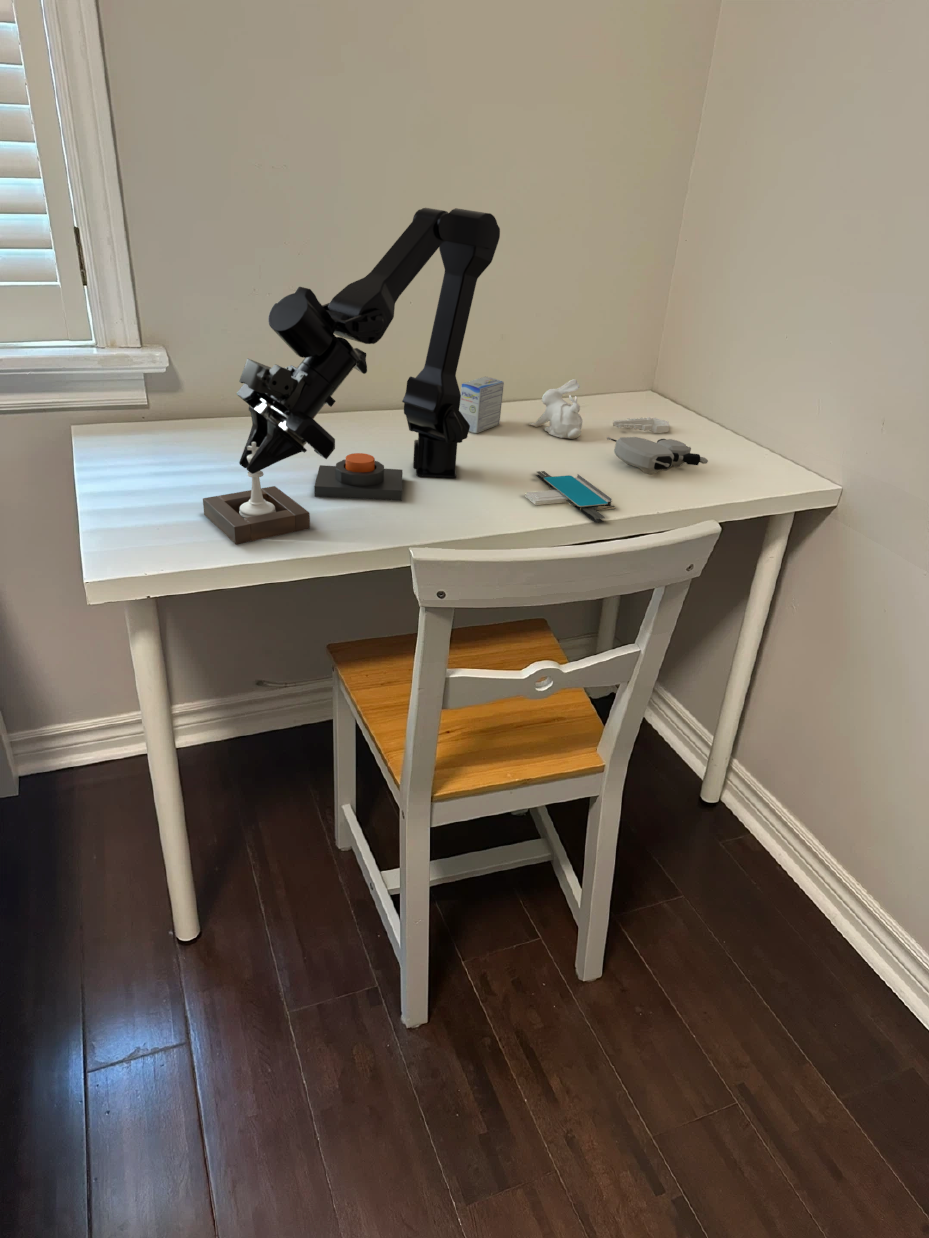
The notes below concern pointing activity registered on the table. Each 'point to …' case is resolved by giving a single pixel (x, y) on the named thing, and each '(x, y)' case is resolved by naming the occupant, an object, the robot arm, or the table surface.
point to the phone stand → (572, 495)
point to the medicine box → (481, 403)
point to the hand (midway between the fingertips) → (245, 468)
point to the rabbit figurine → (561, 412)
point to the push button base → (358, 483)
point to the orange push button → (360, 462)
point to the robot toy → (655, 453)
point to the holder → (256, 527)
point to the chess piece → (255, 493)
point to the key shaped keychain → (643, 424)
